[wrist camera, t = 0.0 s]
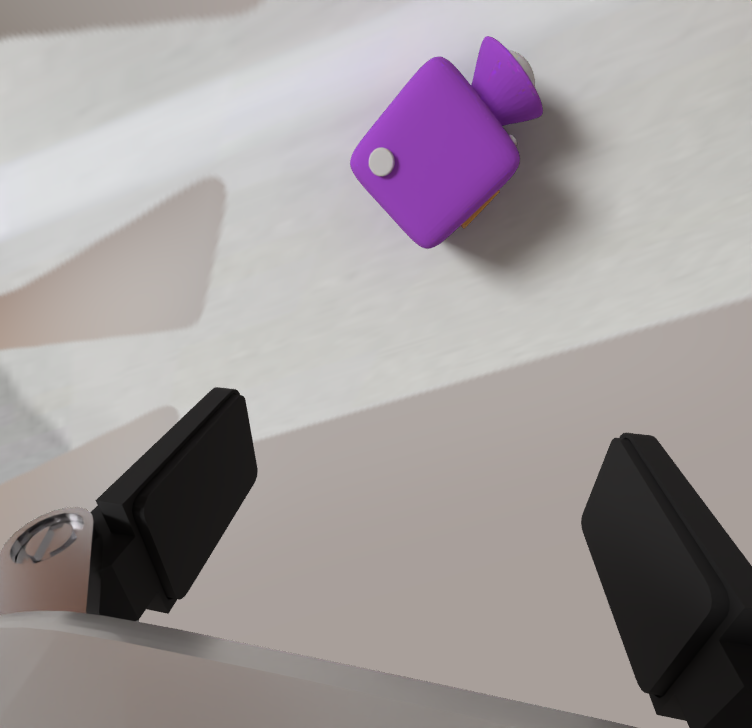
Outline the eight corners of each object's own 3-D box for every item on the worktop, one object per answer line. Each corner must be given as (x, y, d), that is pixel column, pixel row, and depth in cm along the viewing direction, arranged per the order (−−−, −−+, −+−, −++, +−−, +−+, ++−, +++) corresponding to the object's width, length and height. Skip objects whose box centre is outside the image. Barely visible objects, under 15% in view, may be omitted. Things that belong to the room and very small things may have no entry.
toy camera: (554, 107, 31) (595, 86, 22) (447, 248, 37) (447, 273, 29) (449, 17, 29) (449, -44, 21) (357, 180, 36) (327, 185, 27)
